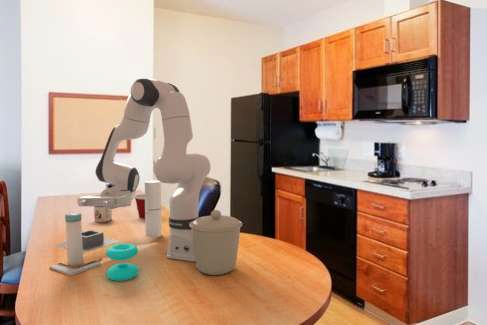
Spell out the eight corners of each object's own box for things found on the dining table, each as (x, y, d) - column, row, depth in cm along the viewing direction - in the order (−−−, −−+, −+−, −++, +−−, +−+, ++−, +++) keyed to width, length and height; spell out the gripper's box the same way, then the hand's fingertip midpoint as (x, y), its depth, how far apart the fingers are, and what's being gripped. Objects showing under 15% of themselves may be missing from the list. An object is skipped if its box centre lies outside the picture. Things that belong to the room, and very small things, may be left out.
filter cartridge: (86, 263, 132) (84, 213, 130) (73, 268, 127) (70, 217, 125) (77, 260, 134) (75, 212, 133) (64, 265, 130) (61, 215, 128)
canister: (215, 257, 141) (215, 202, 139) (252, 268, 130) (252, 209, 128) (179, 271, 127) (178, 210, 125) (217, 285, 116) (217, 219, 114)
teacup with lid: (90, 220, 197) (90, 199, 196) (106, 217, 204) (105, 196, 203) (102, 224, 190) (102, 202, 189) (118, 221, 197) (118, 199, 196)
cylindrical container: (157, 238, 166) (156, 183, 164) (142, 237, 167) (141, 182, 165) (164, 233, 173) (163, 180, 171) (149, 232, 174) (148, 180, 172)
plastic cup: (142, 220, 199) (142, 198, 198) (130, 217, 205) (130, 195, 204) (158, 216, 208) (158, 195, 207) (146, 213, 214) (145, 193, 213)
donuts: (143, 247, 122) (114, 254, 115) (144, 276, 122) (115, 285, 116) (129, 240, 129) (100, 246, 122) (129, 268, 130) (101, 276, 123)
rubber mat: (101, 264, 133) (101, 262, 133) (70, 275, 123) (70, 273, 123) (80, 258, 139) (80, 256, 139) (49, 268, 129) (49, 266, 129)
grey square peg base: (121, 244, 157) (120, 231, 156) (83, 256, 141) (82, 242, 141) (93, 237, 166) (93, 225, 165) (55, 248, 151) (55, 235, 150)
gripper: (88, 191, 156) (67, 196, 142) (133, 190, 153) (117, 195, 139) (88, 205, 156) (69, 212, 142) (134, 205, 153) (118, 212, 139)
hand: (93, 204), depth 141 cm, fingers open, 8 cm apart
